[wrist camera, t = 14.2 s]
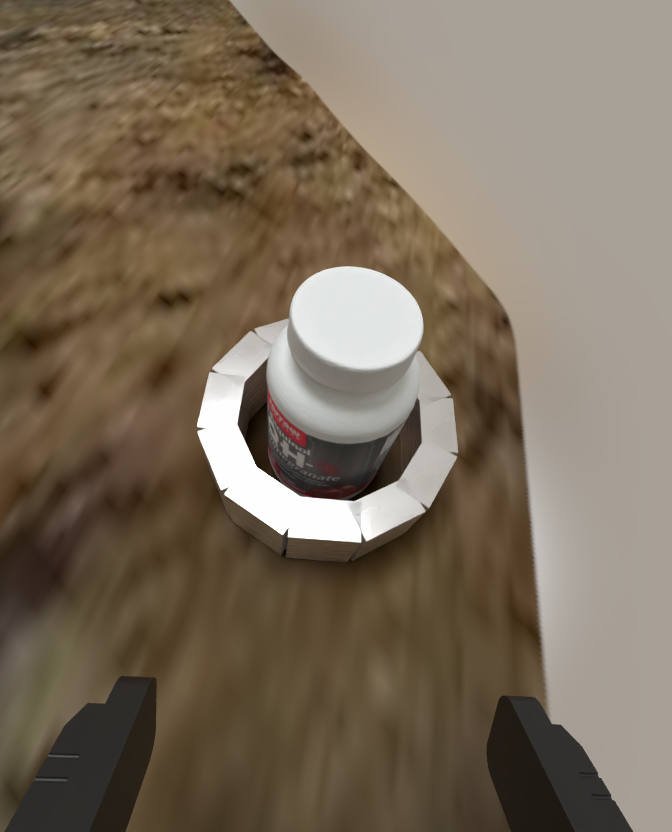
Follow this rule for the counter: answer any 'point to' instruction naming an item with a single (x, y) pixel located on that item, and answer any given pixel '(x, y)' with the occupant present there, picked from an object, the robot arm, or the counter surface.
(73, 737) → the robot arm
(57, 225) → the counter surface
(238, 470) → the ring collar
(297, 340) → the pill bottle
